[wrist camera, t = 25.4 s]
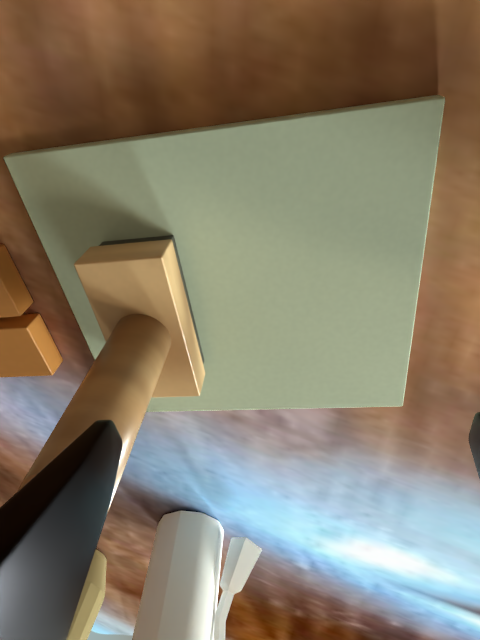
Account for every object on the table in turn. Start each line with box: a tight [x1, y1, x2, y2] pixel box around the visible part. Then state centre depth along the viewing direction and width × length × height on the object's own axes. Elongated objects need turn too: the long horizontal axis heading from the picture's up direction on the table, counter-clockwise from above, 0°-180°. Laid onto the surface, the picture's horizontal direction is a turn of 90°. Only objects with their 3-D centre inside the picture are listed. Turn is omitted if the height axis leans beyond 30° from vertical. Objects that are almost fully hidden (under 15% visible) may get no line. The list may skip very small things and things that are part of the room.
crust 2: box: [0, 313, 63, 377], centre depth 26 cm, size 4×4×2 cm
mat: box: [3, 95, 445, 412], centre depth 23 cm, size 20×18×1 cm
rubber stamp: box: [18, 235, 205, 511], centre depth 18 cm, size 9×4×14 cm, turn 8°
